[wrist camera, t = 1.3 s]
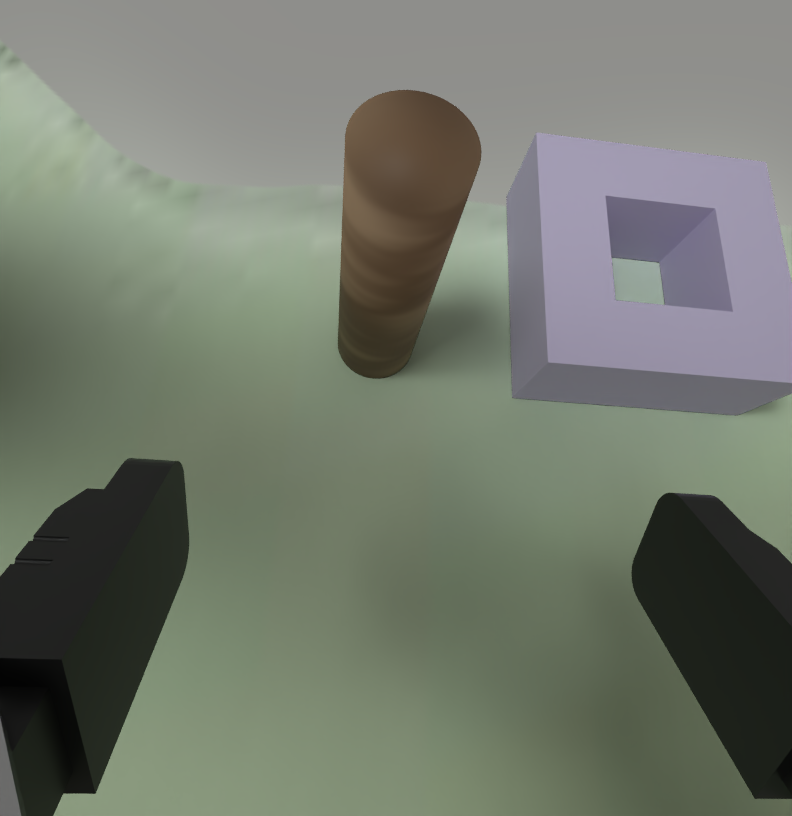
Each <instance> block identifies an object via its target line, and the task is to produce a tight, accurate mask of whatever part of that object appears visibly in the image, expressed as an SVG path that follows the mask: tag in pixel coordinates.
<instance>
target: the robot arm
mask: <svg viewBox="0 0 792 816" xmlns="http://www.w3.org/2000/svg"><path fill="white" fill-rule="evenodd" d="M188 551H189V530H188V517H187V505H186V493H185V481H184V471H183V467H182V464H181V463H180V462H179V461H167V460H151V459H135V458H129V459H127V460H126V461H125V462H124V463H123V464H122V465H121V467H120V468H119V469H118V471H117V472H116V474H115V475H114V476H113V478H112V479H111V481H110V482H109V483H108V485H107V486H106V488H105V489H86V490H84V491H83V492H81V493H80V494H78V495H76V496H75V497H73V498H72V499H70V500H69V501H67V502H66V503H64V504H63V505H61V506H59V507H58V508H56V509H55V510H54V511H53V512H52V514H51V515H50V516H49V517H48V519H47V520H46V521H45V522H44V524H43V525H42V526H41V527H40V528H39V530H38V531H37V532H36V533H35V535H34V539H33V541H29V542H28V543H27V544H26V546H25V547H24V548H23V549H22V551H21V552H20V553H19V554H18V556H17V557H16V558H15V563H14V564H10V565H9V567H8V568H7V569H6V570H5V572H4V573H3V574H2V575H1V576H0V816H53V815H54V813H55V810H56V808H57V806H58V804H59V801H60V799H61V797H62V795H63V793H87V794H96V791H97V789H98V786H99V784H100V781H101V779H102V776H103V774H104V771H105V769H106V766H107V764H108V761H109V759H110V756H111V754H112V752H113V749H114V747H115V744H116V742H117V739H118V737H119V734H120V732H121V729H122V727H123V724H124V722H125V719H126V717H127V714H128V712H129V709H130V707H131V704H132V702H133V700H134V697H135V695H136V692H137V690H138V687H139V685H140V682H141V680H142V677H143V675H144V672H145V670H146V667H147V665H148V662H149V660H150V657H151V655H152V652H153V650H154V647H155V645H156V643H157V640H158V638H159V635H160V633H161V630H162V628H163V625H164V623H165V620H166V618H167V615H168V613H169V610H170V608H171V605H172V603H173V600H174V598H175V595H176V593H177V590H178V588H179V586H180V583H181V581H182V578H183V575H184V572H185V568H186V564H187V559H188ZM632 583H633V588H634V591H635V594H636V596H637V598H638V600H639V602H640V603H641V605H642V607H643V609H644V610H645V612H646V614H647V615H648V617H649V619H650V620H651V622H652V624H653V626H654V627H655V629H656V631H657V632H658V634H659V636H660V638H661V639H662V641H663V643H664V644H665V646H666V648H667V649H668V651H669V653H670V655H671V656H672V658H673V660H674V661H675V663H676V665H677V667H678V668H679V670H680V672H681V673H682V675H683V677H684V679H685V680H686V682H687V684H688V685H689V687H690V689H691V690H692V692H693V694H694V696H695V697H696V699H697V701H698V702H699V704H700V706H701V708H702V709H703V711H704V713H705V714H706V716H707V718H708V720H709V721H710V723H711V725H712V726H713V728H714V730H715V731H716V733H717V735H718V737H719V738H720V740H721V742H722V743H723V745H724V747H725V749H726V750H727V752H728V754H729V755H730V757H731V759H732V760H733V762H734V764H735V766H736V767H737V769H738V771H739V772H740V774H741V776H742V778H743V779H744V781H745V783H746V784H747V786H748V788H749V790H750V791H751V793H752V795H753V796H754V798H755V799H792V564H791V562H790V561H789V560H788V559H787V558H786V557H785V556H784V555H783V554H782V553H781V552H780V551H779V550H778V549H777V548H775V547H774V546H772V545H771V544H769V543H768V542H766V541H765V540H763V539H762V538H760V537H759V536H757V535H756V534H754V533H753V532H751V531H750V530H749V529H748V528H747V527H746V526H745V525H744V524H743V523H742V522H741V521H740V520H739V519H738V518H737V517H736V516H735V515H734V514H733V513H732V512H731V511H730V510H729V509H728V508H727V507H726V505H725V504H724V503H723V502H722V501H721V500H719V499H718V498H716V497H715V496H711V495H696V494H680V493H666V494H664V495H663V496H662V497H661V498H660V499H659V500H658V502H657V504H656V506H655V509H654V511H653V514H652V516H651V518H650V521H649V523H648V526H647V528H646V531H645V533H644V536H643V538H642V540H641V543H640V545H639V548H638V550H637V553H636V555H635V558H634V560H633V564H632Z"/></svg>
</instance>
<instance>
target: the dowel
mask: <svg viewBox="0 0 792 816" xmlns="http://www.w3.org/2000/svg"><path fill="white" fill-rule="evenodd" d="M480 161H481V145H480V140H479V137H478V134H477V132H476V130H475V128H474V126H473V125H472V123H471V122H470V120H469V119H468V118H467V117H466V116H465V115H464V114H463V113H462V112H461V111H460V110H459V109H458V108H457V107H455V106H454V105H452V104H451V103H449V102H448V101H446V100H444V99H442V98H440V97H437V96H435V95H432V94H428V93H425V92H420V91H413V90H398V91H390V92H386V93H382V94H379V95H377V96H374V97H373V98H371V99H369V100H367V101H366V102H365V103H363V104H362V105H361V106H360V107H359V108H358V109H357V110H356V111H355V113H353V115H352V117H351V118H350V120H349V122H348V125H347V128H346V134H345V158H344V186H343V214H342V242H341V270H340V299H339V327H338V349H339V352H340V355H341V357H342V359H343V361H344V362H345V364H346V365H347V366H348V367H349V368H350V369H351V370H353V371H354V372H356V373H357V374H359V375H362V376H365V377H368V378H385V377H389V376H391V375H393V374H395V373H397V372H398V371H400V370H401V369H402V368H403V367H404V366H405V365H406V364H407V362H408V360H409V358H410V356H411V353H412V350H413V347H414V345H415V342H416V339H417V336H418V334H419V331H420V328H421V325H422V323H423V320H424V317H425V314H426V312H427V309H428V306H429V303H430V301H431V298H432V295H433V292H434V289H435V287H436V284H437V281H438V278H439V276H440V273H441V270H442V267H443V265H444V262H445V259H446V256H447V254H448V251H449V248H450V245H451V243H452V240H453V237H454V234H455V232H456V229H457V226H458V223H459V220H460V218H461V215H462V212H463V209H464V207H465V204H466V201H467V198H468V196H469V193H470V190H471V187H472V185H473V182H474V179H475V176H476V174H477V171H478V168H479V165H480Z"/></svg>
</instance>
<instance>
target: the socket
mask: <svg viewBox="0 0 792 816" xmlns="http://www.w3.org/2000/svg"><path fill="white" fill-rule="evenodd" d="M507 233H508V268H509V303H510V338H511V373H512V398H520V399H533V400H546V401H559V402H572V403H585V404H597V405H610V406H623V407H636V408H649V409H662V410H675V411H688V412H701V413H713V414H726V415H739V414H742V413H744V412H747V411H749V410H752V409H754V408H757V407H759V406H762V405H764V404H767V403H769V402H772V401H774V400H777V399H779V398H782V397H784V396H787V395H789V394H792V282H791V278H790V273H789V268H788V263H787V259H786V254H785V249H784V245H783V240H782V235H781V230H780V226H779V221H778V216H777V212H776V207H775V202H774V198H773V193H772V188H771V183H770V179H769V174H768V170H767V165H766V162H762V161H754V160H746V159H738V158H731V157H722V156H715V155H707V154H700V153H691V152H684V151H676V150H668V149H660V148H653V147H645V146H637V145H630V144H622V143H614V142H606V141H599V140H591V139H583V138H575V137H567V136H560V135H552V134H544V133H536V134H535V136H534V138H533V141H532V143H531V145H530V147H529V149H528V151H527V154H526V156H525V158H524V160H523V162H522V164H521V167H520V169H519V171H518V173H517V175H516V177H515V180H514V182H513V184H512V186H511V188H510V190H509V193H508V195H507ZM611 257H616V258H625V259H635V260H644V261H654V262H660V269H661V277H662V285H663V293H664V301H665V305H659V304H649V303H639V302H628V301H618V300H616V299H615V289H614V278H613V268H612V258H611Z"/></svg>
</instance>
